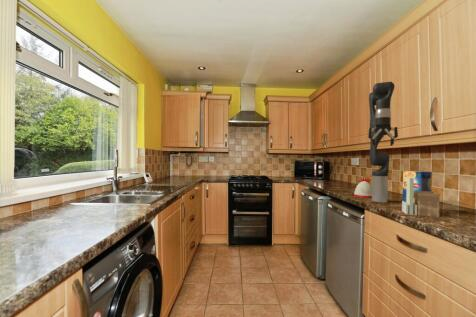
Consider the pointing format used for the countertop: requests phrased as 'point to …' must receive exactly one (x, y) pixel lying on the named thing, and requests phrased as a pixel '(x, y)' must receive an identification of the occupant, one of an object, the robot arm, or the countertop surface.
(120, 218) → the countertop surface
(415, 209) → the small printed carton
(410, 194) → the sage board
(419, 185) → the beverage box
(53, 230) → the countertop surface
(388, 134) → the robot arm
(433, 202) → the oak rack
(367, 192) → the kitchen timer
